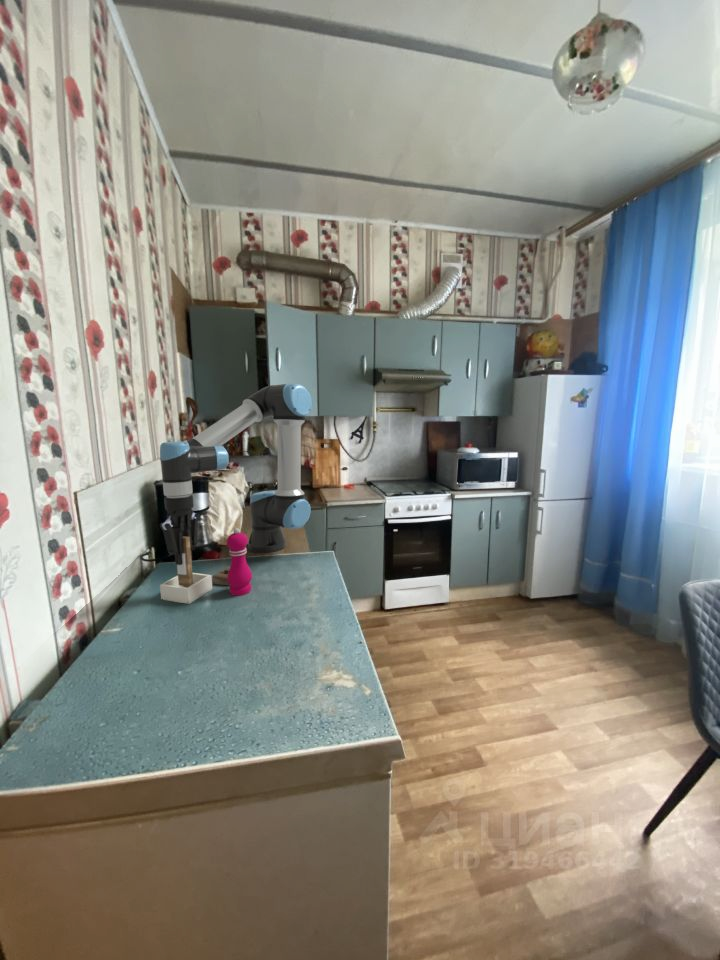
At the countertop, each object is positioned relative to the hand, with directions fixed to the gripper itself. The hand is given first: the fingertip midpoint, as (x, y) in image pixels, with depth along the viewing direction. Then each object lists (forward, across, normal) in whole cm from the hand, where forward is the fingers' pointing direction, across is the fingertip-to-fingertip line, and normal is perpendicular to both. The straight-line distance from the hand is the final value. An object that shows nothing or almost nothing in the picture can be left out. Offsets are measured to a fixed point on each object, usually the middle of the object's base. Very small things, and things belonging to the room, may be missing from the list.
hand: (185, 572), depth 111 cm
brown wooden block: (+4, 0, 0) cm, 4 cm away
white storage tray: (+7, 0, 0) cm, 7 cm away
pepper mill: (+7, -6, +14) cm, 17 cm away
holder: (+7, -12, +6) cm, 15 cm away
